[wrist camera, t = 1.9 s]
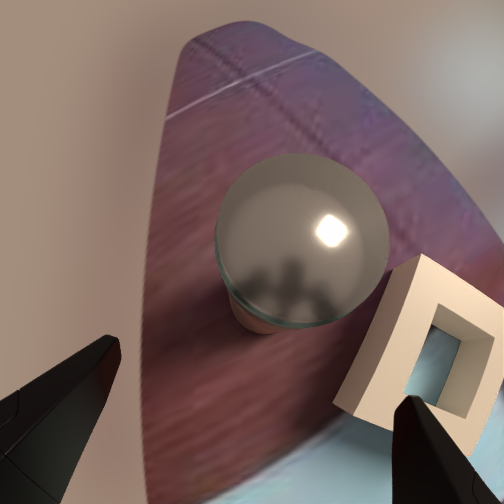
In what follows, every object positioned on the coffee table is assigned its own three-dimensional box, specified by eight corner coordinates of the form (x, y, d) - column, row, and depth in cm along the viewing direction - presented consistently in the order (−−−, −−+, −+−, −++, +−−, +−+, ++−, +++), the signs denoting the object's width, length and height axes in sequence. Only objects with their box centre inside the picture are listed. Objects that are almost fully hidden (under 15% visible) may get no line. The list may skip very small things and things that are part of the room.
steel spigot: (280, 348, 20) (350, 358, 7) (215, 313, 20) (176, 266, 8) (313, 284, 21) (412, 202, 8) (250, 251, 21) (267, 125, 9)
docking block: (439, 444, 18) (470, 456, 14) (332, 402, 19) (352, 415, 15) (486, 325, 20) (519, 319, 16) (393, 268, 21) (421, 253, 17)
